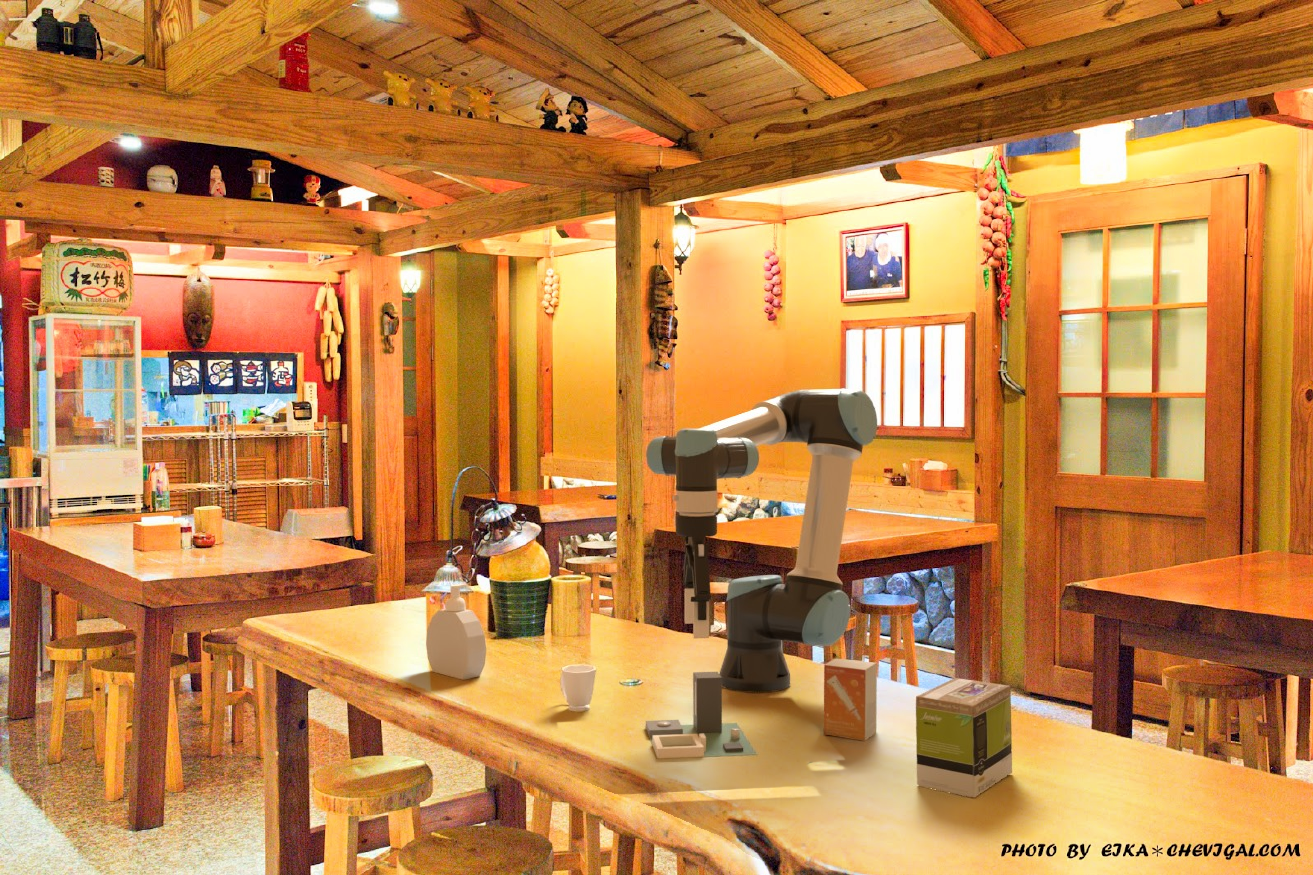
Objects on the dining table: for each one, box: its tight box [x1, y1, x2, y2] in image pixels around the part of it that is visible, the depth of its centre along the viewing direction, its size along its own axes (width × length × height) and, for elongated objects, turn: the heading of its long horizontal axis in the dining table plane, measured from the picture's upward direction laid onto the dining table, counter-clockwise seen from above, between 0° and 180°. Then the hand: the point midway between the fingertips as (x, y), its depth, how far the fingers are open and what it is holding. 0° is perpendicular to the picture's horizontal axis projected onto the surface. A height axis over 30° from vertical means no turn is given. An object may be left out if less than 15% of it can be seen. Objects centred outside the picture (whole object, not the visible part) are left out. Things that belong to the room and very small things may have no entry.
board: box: [644, 722, 758, 760], centre depth 202 cm, size 17×19×3 cm
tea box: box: [915, 677, 1013, 798], centre depth 183 cm, size 15×10×15 cm
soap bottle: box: [425, 583, 487, 681], centre depth 256 cm, size 16×5×20 cm, turn 46°
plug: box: [692, 671, 723, 734], centre depth 208 cm, size 4×4×10 cm
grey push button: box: [645, 719, 683, 739], centre depth 205 cm, size 6×10×3 cm, turn 7°
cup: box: [559, 663, 597, 713], centre depth 228 cm, size 7×10×8 cm
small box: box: [823, 658, 878, 742], centre depth 209 cm, size 8×6×13 cm
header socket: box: [651, 733, 706, 759], centre depth 196 cm, size 9×8×2 cm
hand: (696, 630), depth 208 cm, fingers open, 13 cm apart
